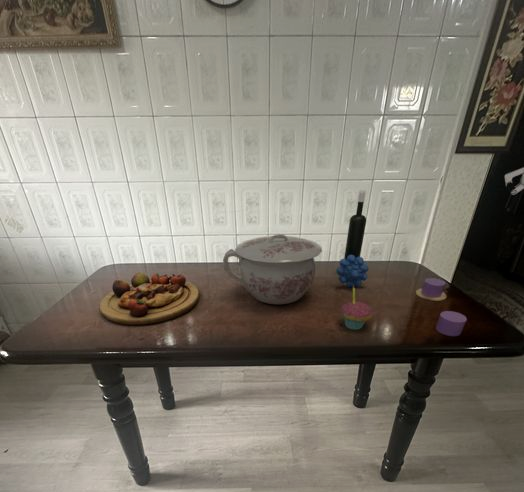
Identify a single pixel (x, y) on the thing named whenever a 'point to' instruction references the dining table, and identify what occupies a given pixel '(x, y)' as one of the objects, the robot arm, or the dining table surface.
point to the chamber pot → (275, 267)
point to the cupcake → (356, 313)
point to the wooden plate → (148, 299)
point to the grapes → (352, 271)
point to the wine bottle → (356, 229)
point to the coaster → (430, 297)
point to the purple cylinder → (433, 287)
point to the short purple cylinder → (451, 323)
